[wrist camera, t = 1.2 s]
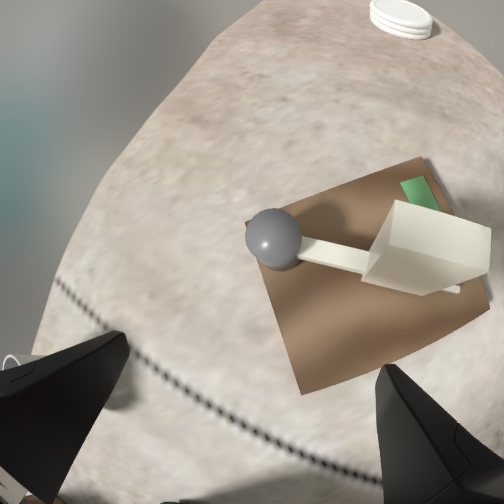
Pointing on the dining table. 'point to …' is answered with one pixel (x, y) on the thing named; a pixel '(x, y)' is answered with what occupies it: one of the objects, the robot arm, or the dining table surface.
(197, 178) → the dining table surface
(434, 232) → the lever
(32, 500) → the plant pot
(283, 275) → the brown flat panel
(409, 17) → the coaster
